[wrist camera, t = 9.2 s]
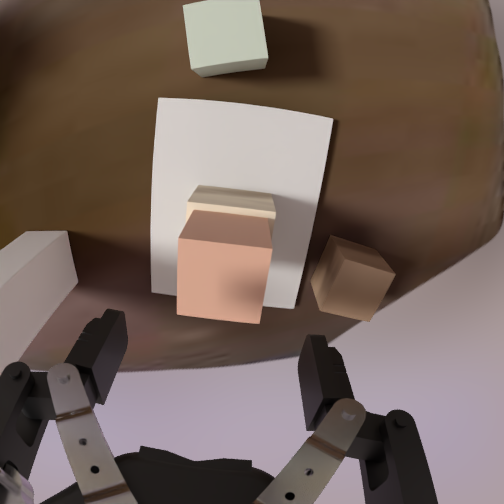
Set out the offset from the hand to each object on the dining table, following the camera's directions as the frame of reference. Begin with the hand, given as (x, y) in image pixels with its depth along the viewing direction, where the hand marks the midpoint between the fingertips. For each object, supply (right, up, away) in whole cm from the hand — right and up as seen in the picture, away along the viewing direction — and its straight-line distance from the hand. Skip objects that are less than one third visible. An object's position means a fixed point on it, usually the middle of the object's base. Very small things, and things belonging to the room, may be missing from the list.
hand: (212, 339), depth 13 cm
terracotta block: (0, +4, +9) cm, 10 cm away
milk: (-20, +3, +15) cm, 25 cm away
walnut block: (+10, +2, +16) cm, 19 cm away
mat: (0, +7, +14) cm, 15 cm away
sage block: (0, +20, +8) cm, 22 cm away
